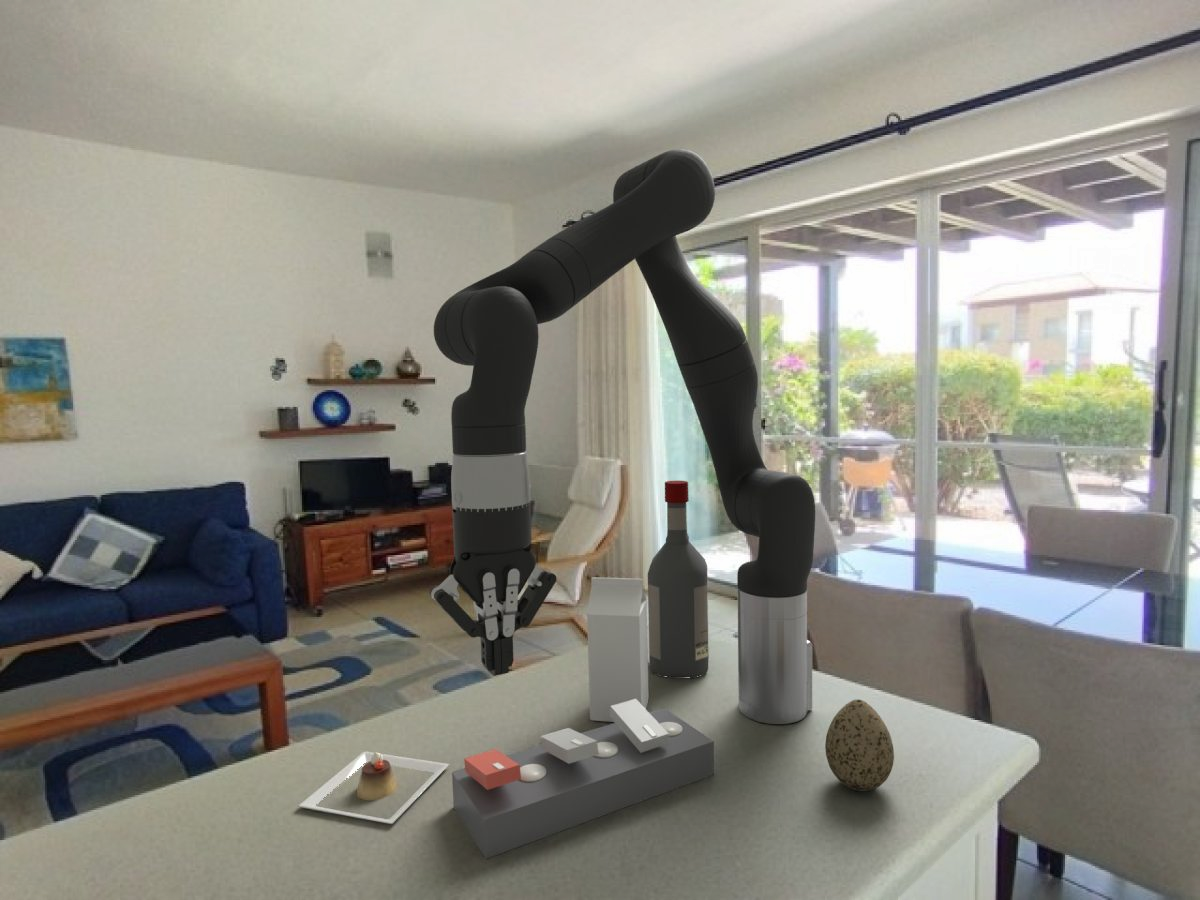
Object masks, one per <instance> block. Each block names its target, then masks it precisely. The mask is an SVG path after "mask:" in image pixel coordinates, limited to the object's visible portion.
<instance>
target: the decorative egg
mask: <svg viewBox="0 0 1200 900" xmlns="http://www.w3.org/2000/svg"><path fill="white" fill-rule="evenodd" d="M830 722H831V723H830V724H829V727H828V729H827V733H826V736H825V743H824V744H825V755H826V756H825V757H826V760H827V764H828V765H829V768H830V770H831V772H832V774H833V775H834V777H835V778H836V779H837V780H838V781H839V782H840V783H841V784H842V785H844V786H845V787H847V788H849V789H850V790H854V791H857V792H858V791H859V792H869V791H873V790H875V789H877V788H879V787H881V786H882V784H884V783H886V781H887V779H889V776H890V774H891V772H892V769H893V766H894V761H895V760H894V759H895V752H894V751H895V750H894V743H893V740H892V737H891V734H890V731H889V729H888V727H887V725H886V723H885V722H884V720H883V719H882V717H881V715H879V713H878V712H877V711H876V709H874V708H873V707H872V706H871V705H870V704H869V703H867V702H866V701H865V700H862V699H853V700H851V701H849V702H847V703H846V704H845V705H844V706H843V707H841V708H840V710H838V712H837V713H836V714H835V716H833V718H832V720H831V721H830Z"/></svg>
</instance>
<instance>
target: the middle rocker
mask: <svg viewBox="0 0 1200 900" xmlns="http://www.w3.org/2000/svg"><path fill="white" fill-rule="evenodd" d="M581 733H582V732H578V731H577V730H574V729H572V728H570V727H566V728H563V729H560V730H555V731H552V732H549V733H547V734H543V735H540V738H539V739H540V745H541V746H542V749H543V750H545V751H547V752H549V753H550V754H552V755H554V756H556V757H558V758H559V759H561V760H563V761H565V762H566V763H568V764H570V763H573V762H576V761H579V760H582V759H585V758H588V757H591V756H595V755H598V754H599V753H598V745H597V741H596V740H594V739H592V738H590V737H587V736H585V735H583V734H581Z"/></svg>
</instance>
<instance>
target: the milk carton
mask: <svg viewBox="0 0 1200 900" xmlns="http://www.w3.org/2000/svg"><path fill="white" fill-rule="evenodd" d="M590 579H591V587H590V593H589V598H588V605H587V610H586V619H587V620H586V625H587V627H586V628H587V656H588V657H587V659H588V690H589V691H588V692H589V693H588V694H589V720H590V721H596V722H607V723H609V722H610V723H615V722H614V721H613V720H612V718H611V717H610V706H612V705H616V704H619V703H623V702H626V701H630V700H633V699H637V700H638V701H639V702H640V704H641V705H642V706H643V707H644V708H645V709H646V710H647V707H648V704H649V699H650V698H649V694H650V693H649V657H648V655H649V650H648V649H649V645H648V613H647V612H648V611H647V609H648V608H647V607H648V606H647V604H648V600H647V597H646V593H645V590H644V585H643V583H644V581H643V578H631V577H630V578H629V577H627V578H625V577H622V578H621V577H595V576H594V577H591V578H590Z"/></svg>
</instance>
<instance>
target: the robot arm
mask: <svg viewBox="0 0 1200 900" xmlns="http://www.w3.org/2000/svg"><path fill="white" fill-rule="evenodd" d="M708 166H709V165H708V164H707V162H705V160H704V159H703V158H702V157H701V156H700V155H698V154H697V153H696V152H693V151H691V150H688V149H685V148H684V149H683V148H677V149H671V150H667V151H665V152H663V153H660V154H658V155H655V156H654V157H652V158H650V159H648V160H646V161H644V162H642V163H640V164H638V165H636V166H634V167H632V168H631V169H628V170H626V171H625V172H623V173H622V174H620V176H619V177H618V178H617V179H616V181H615V183H614V187H613V193H612V197H613V198H612V199H613V201H612V202H613V203H610V204H609V205H607V206H606V207H604V208H602V209H600V210H598V211H597V212H595V213H592V214H591V215H589V216H586V217H584V218H583V219H581V220H579V221H576V222H575V223H573V224H572V225H569V226H568V227H566V228H564V229H562V230H561V231H559V232H557V233H556V234H554V235H552V236H551V237H549V238H548V239H545V241H543V242H542V243H540V244H539V245H537V246H536V247H534V248H532V249H531V250H530V251H528V252H527V253H525V254H524V255H523V256H521V258H519V259H517V260H516V261H515V262H513V263H512V264H511V265H508V266H507V267H505V268H502V269H501V270H499V271H497V272H494V273H492V274H490V275H488V276H486V277H484V278H481V279H479V280H478V281H476V282H474V283H472V284H470V285H468V286H466V287H465V288H462V289H461V290H459V291H457V292H456V293H455V294H453V295H452V296H450V297H449V298H448V299H447V300H445V302H444V303H443V304H442V305H441V306H440V308H439V310H438V311H437V313H436V316H435V319H434V323H433V338H434V342H435V344H436V346H437V348H438V350H439V351H440V352H441V354H442V355H443V356H444V357H445V358H447V359H449V360H450V361H451V362H453V363H455V364H459V365H462V366H463V365H464V366H469V367H472V373H471V380H470V385H469V388H468V389H467V390H466V391H464V392H462V393H460V394H459V395H457V396H456V397H455V398H454V400H453V401H452V405H451V413H450V414H451V417H450V419H451V437H452V439H451V441H452V463H451V464H452V465H451V474H450V475H451V476H450V484H451V487H450V488H451V509H452V510H451V511H452V529H453V530H452V534H453V558H452V559H453V560H452V562H451V564H450V567H449V575H448V576H447V577H446V578H445V579H444V580H443V581H442V582H441V583H440V584H439V585H433V586H431V587H430V588H429V592H428V594H429V597H431V599H433V600H434V601H435V602H436V604H437V605H438V606H439V607H440V608H441V609H442V610H443V611H444V612H445V614H447V615H448V616H449V618H451V619H452V620H453V622H455V623H456V625H458V627H459V628H460V629H462V630H463V631H464V632H465V633H466V634H467V635H468V636H470V638H477V637H478V638H480V655H481V659H480V660H481V661H480V662H481V664H482V666H483V668H485V670H487V671H488V672H489V673H490V674H491V675H492V676H494V677H496V676H500V675H501V676H502V675H505V674H509V671H510V669H509V667H512V666H513V664H514V634H515V632H516V631H518V630H519V629H521V628H522V627H523V628H527V627H528V626H530V625H531V623H532V621H533V619H534V618H535V616H536V615H537V613H538V611H539V609H540V608H541V607H542V605H543V603H544V602H545V600H546V599H547V597H548V595H549V594H550V592H551V591H552V589H553V587H554V586H555V584H556V582H557V575H556V574H555V573H553V572H550V571H549V570H547V569H545V568H542V567H541V566H539V565H538V564H537V558H536V556H535V555H534V553H533V550H532V541H533V539H532V509H531V504H532V503H531V494H532V487H531V479H530V478H531V477H530V469H529V463H528V457H527V456H528V455H527V438H526V435H527V433H526V432H527V431H526V429H527V428H526V417H525V416H526V415H525V413H526V412H525V409H526V405H527V399H528V397H529V393H530V389H531V386H532V379H533V374H534V371H535V370H534V369H535V365H536V364H535V363H536V359H537V354H538V347H539V325H540V324H541V325H542V324H544V323H548V322H551V321H554V320H556V319H558V318H559V317H561V316H563V315H564V314H565V313H567V312H569V311H570V310H571V309H572V308H573V307H575V306H576V305H578V303H580V302H581V301H583V299H585V298H586V297H588V296H589V295H590V294H591V293H593V292H594V291H596V289H598V288H599V287H600V286H601V285H603V284H604V283H606V282H607V281H608V280H609V279H610V278H612V277H613V276H614V275H615V274H616V273H619V271H621V270H622V269H623V268H625V267H626V266H627V265H629V264H630V263H631V262H633V261H634V260H635V262H636V264H637V266H638V267H639V271H640V272H641V275H642V277H643V279H644V281H645V283H646V285H647V287H648V289H649V292H650V293H651V296H652V298H653V301H654V303H655V306H656V308H657V311H658V314H659V316H660V318H661V322H662V323H663V326H664V328H665V331H666V333H667V336H668V339H669V342H670V345H671V347H672V351H673V354H674V357H675V360H676V363H677V366H678V368H679V371H680V373H681V377H682V379H683V382H684V384H685V387H686V390H687V392H688V395H689V397H690V400H691V402H692V405H693V407H694V410H695V413H696V416H697V418H698V421H699V424H700V427H701V430H702V433H703V436H704V439H705V441H706V445H707V447H708V450H709V454H710V457H711V460H712V464H713V468H714V472H715V476H716V480H717V485H718V489H719V493H720V496H721V502H722V504H723V507H724V510H725V513H726V515H727V517H728V519H729V521H730V523H731V524H732V525H733V526H734V527H735V529H737V530H739V531H740V532H742V533H744V534H747V535H751V536H753V537H756V538H758V549H757V550H758V552H757V558H756V559H755V560H750V561H746V562H744V563H742V564H741V565H740V566H739V567H738V570H737V574H736V575H737V580H736V581H737V589H736V591H737V592H736V593H737V660H738V661H737V666H738V667H737V669H738V670H737V671H738V673H737V674H738V677H737V679H738V680H737V683H738V709H739V712H740V713H742V714H743V715H744V716H745V717H746V718H749V719H751V720H754V721H756V722H760V723H764V724H770V725H788V724H792V723H796V722H799V721H801V720H803V719H805V717H806V716H807V713H808V711H810V710H812V709H813V644H812V642H811V640H808V619H807V618H808V578H809V575H810V573H811V570H812V568H813V562H814V551H815V548H814V547H815V532H816V531H815V530H816V503H815V496H814V492H813V490H812V488H811V485H810V484H809V483H808V482H807V480H806V479H804V478H803V477H802V476H800V475H797V474H795V473H790V472H783V471H778V470H777V471H776V470H770V469H768V468H767V466H766V465H765V462H764V460H763V459H762V456H761V453H760V451H759V448H758V447H759V446H758V445H757V442H756V438H755V434H754V427H753V426H754V425H753V424H754V422H753V419H754V415H755V413H754V412H755V407H756V403H757V394H758V386H759V385H758V384H759V383H758V382H759V381H758V371H757V366H756V363H755V360H754V357H753V354H752V351H751V348H750V344H749V342H748V338H747V336H746V333H745V330H744V328H743V326H742V324H741V323H740V321H739V320H738V318H737V317H736V316H735V315H734V314H733V312H732V311H731V310H730V309H729V308H728V307H727V306H726V305H725V304H724V303H723V302H722V301H721V300H719V299H718V298H717V296H716V295H715V294H713V293H712V292H711V291H710V290H709V289H708V288H707V287H705V286H704V284H702V282H701V281H700V280H699V278H698V277H697V276H696V275H695V274H694V273H693V271H692V269H691V268H690V266H689V265H688V262H687V260H686V258H685V256H684V254H683V250H682V249H681V247H680V244H679V241H678V237H677V235H678V236H679V235H680V234H683V233H686V232H689V231H691V230H693V229H695V228H696V227H698V226H699V225H700V224H702V223H703V222H704V221H705V220H706V219H707V218H708V217H709V215H710V213H711V211H712V209H713V207H714V203H715V199H716V198H715V196H716V187H715V181H714V177H713V174H712V172H711V170H710V168H709V167H708ZM526 584H528V585H527V586H526V588H525V590H524V591H523V593H522V594H521V592H522V590H523V588H524V587H525V585H526ZM458 586H459V587H460V589H461V590H462V591H463V592H464V593H465V594H466V595H467V597H468V598H469V599H470V600H471V601H473V602H472V603H473V609H474V611H475V614H476V620H475V619H473V618H472V617H471V616H470V615H469V614H468V613H467V612H466V611H465V610H464V609H463V608H462V607H461V606H460V604H458V603H457V601H459V599H460V593H459V592H458V591H459V590H458ZM520 594H521V596H520V598H518V596H519V595H520Z"/></svg>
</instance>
